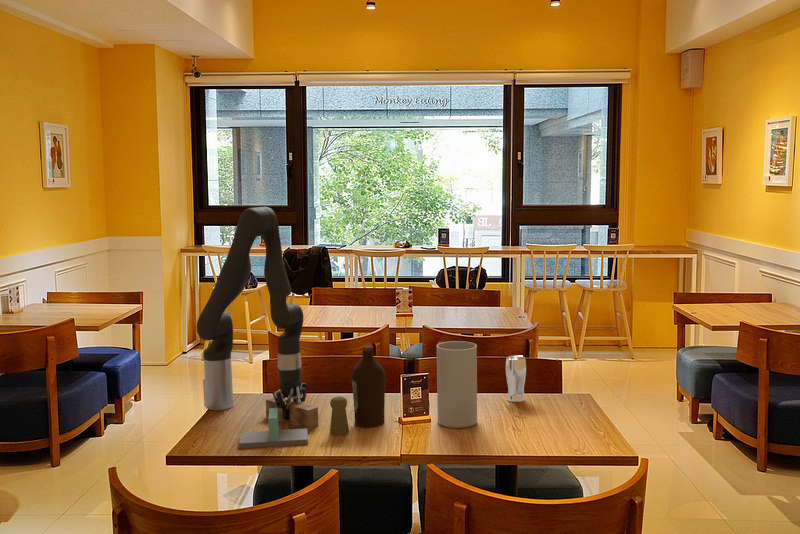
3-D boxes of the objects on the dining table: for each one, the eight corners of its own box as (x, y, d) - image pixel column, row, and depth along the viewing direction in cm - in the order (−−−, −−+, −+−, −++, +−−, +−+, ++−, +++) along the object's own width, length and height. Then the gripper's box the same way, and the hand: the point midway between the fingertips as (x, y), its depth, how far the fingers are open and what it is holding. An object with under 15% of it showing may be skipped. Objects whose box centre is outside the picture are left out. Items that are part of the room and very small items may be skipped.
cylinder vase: (450, 414, 259) (450, 339, 256) (484, 420, 252) (483, 344, 249) (430, 424, 249) (428, 347, 246) (464, 431, 242) (463, 351, 239)
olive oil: (386, 417, 258) (384, 342, 254) (386, 427, 247) (384, 349, 244) (353, 418, 257) (351, 343, 254) (352, 428, 247) (350, 350, 244)
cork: (334, 436, 240) (333, 401, 239) (326, 430, 245) (325, 396, 244) (352, 433, 243) (351, 398, 241) (344, 427, 248) (343, 393, 247)
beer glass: (529, 398, 275) (529, 356, 273) (521, 403, 269) (521, 360, 267) (510, 396, 279) (510, 354, 277) (502, 401, 273) (502, 358, 271)
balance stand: (239, 448, 231) (237, 420, 230) (241, 437, 241) (240, 410, 240) (307, 444, 234) (306, 416, 233) (307, 433, 244) (306, 406, 242)
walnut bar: (266, 417, 260) (265, 399, 259) (275, 414, 263) (274, 396, 262) (309, 428, 248) (308, 410, 247) (318, 425, 251) (317, 407, 250)
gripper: (297, 360, 261) (299, 410, 263) (265, 369, 250) (267, 421, 252) (313, 363, 256) (315, 414, 259) (281, 372, 245) (283, 426, 247)
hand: (291, 417), depth 255 cm, fingers closed on walnut bar, 4 cm apart
